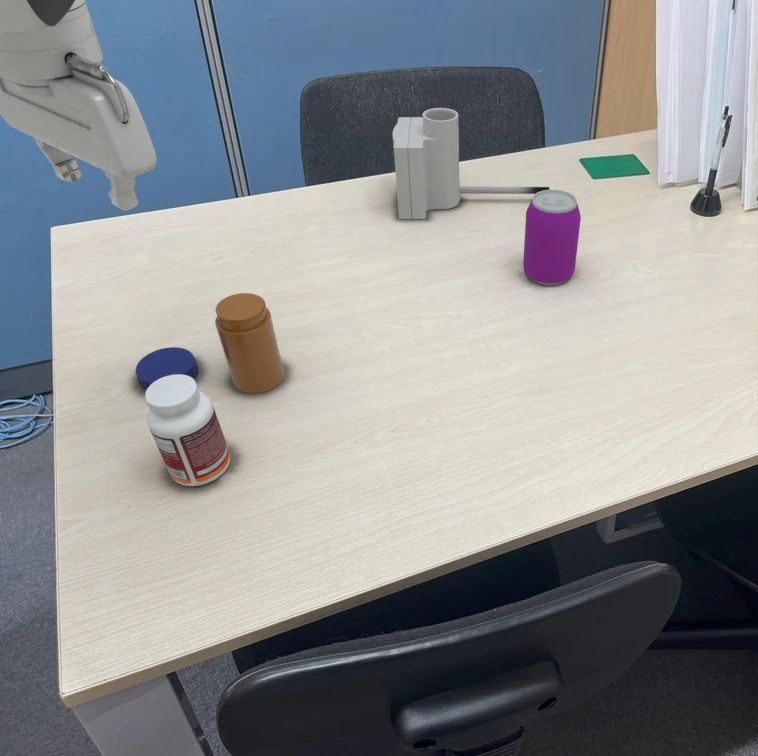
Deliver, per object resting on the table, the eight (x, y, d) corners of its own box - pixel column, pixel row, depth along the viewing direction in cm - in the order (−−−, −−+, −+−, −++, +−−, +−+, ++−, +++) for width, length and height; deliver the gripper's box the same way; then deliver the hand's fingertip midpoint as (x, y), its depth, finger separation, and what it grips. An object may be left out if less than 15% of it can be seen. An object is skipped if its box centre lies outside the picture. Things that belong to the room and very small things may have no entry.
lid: (182, 351, 89) (178, 339, 87) (208, 376, 85) (204, 365, 84) (130, 375, 85) (125, 363, 84) (155, 402, 82) (150, 391, 80)
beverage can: (575, 262, 107) (584, 189, 99) (572, 290, 101) (580, 215, 93) (526, 257, 108) (530, 184, 100) (519, 285, 102) (523, 210, 94)
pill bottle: (233, 441, 77) (208, 365, 70) (229, 483, 73) (202, 407, 66) (173, 449, 76) (142, 372, 69) (166, 492, 72) (131, 416, 64)
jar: (251, 401, 82) (231, 329, 75) (223, 377, 85) (200, 306, 78) (294, 376, 86) (278, 305, 79) (265, 355, 89) (248, 284, 82)
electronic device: (399, 185, 124) (393, 99, 115) (544, 185, 126) (550, 101, 116) (395, 219, 115) (387, 129, 105) (551, 219, 117) (559, 131, 107)
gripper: (147, 59, 58) (192, 212, 67) (15, 13, 66) (70, 154, 75) (74, 80, 54) (132, 239, 63) (-57, 28, 62) (11, 175, 71)
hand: (97, 192), depth 69 cm, fingers open, 8 cm apart
